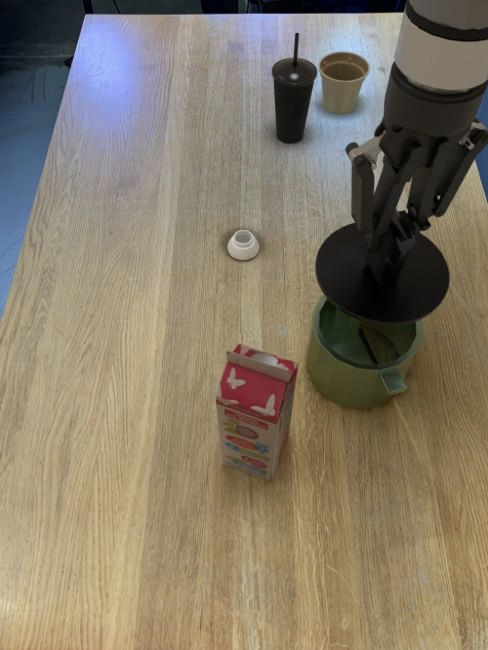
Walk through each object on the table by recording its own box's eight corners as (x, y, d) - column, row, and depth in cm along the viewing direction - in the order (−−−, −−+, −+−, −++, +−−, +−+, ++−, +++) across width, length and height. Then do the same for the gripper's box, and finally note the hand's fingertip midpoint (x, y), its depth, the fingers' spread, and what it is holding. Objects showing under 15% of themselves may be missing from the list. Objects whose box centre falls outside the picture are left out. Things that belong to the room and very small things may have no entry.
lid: (412, 216, 73) (430, 156, 65) (471, 311, 65) (500, 255, 57) (296, 242, 71) (302, 183, 63) (343, 343, 63) (356, 290, 55)
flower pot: (349, 128, 113) (356, 87, 106) (305, 111, 116) (309, 71, 109) (370, 101, 117) (378, 60, 110) (327, 86, 120) (332, 45, 113)
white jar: (221, 246, 96) (238, 266, 94) (221, 233, 94) (238, 253, 92) (247, 233, 98) (265, 252, 96) (247, 220, 96) (265, 240, 93)
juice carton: (240, 418, 79) (238, 325, 61) (288, 435, 78) (300, 345, 60) (221, 463, 76) (213, 378, 58) (271, 482, 74) (278, 401, 56)
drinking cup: (316, 130, 112) (328, 27, 96) (301, 155, 109) (310, 52, 92) (278, 120, 114) (284, 16, 98) (262, 144, 110) (265, 40, 94)
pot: (373, 301, 90) (386, 255, 81) (429, 411, 80) (452, 372, 71) (287, 322, 88) (291, 278, 79) (334, 438, 78) (345, 401, 69)
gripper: (501, 27, 50) (429, 226, 69) (334, 56, 47) (308, 253, 67) (552, 79, 46) (460, 274, 65) (371, 113, 43) (332, 305, 63)
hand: (383, 263), depth 66 cm, fingers closed on lid, 2 cm apart
